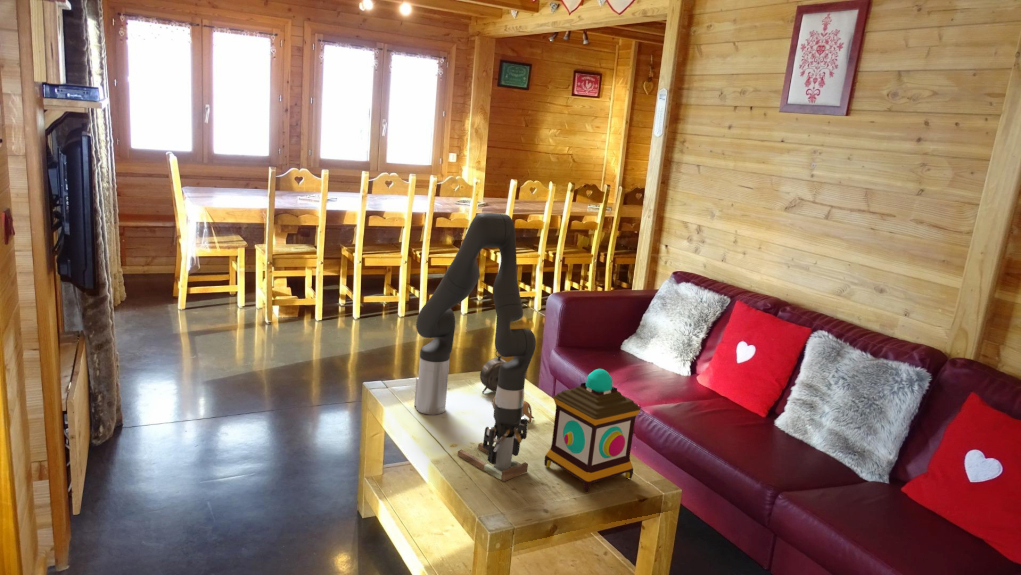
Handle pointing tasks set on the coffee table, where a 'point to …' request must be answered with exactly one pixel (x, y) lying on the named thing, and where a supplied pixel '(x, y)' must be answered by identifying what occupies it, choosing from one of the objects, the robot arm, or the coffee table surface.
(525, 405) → the lion figurine
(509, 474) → the guide channel
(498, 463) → the grey hollow cylinder
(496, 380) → the alarm clock
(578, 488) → the coffee table surface
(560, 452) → the decorative lantern
